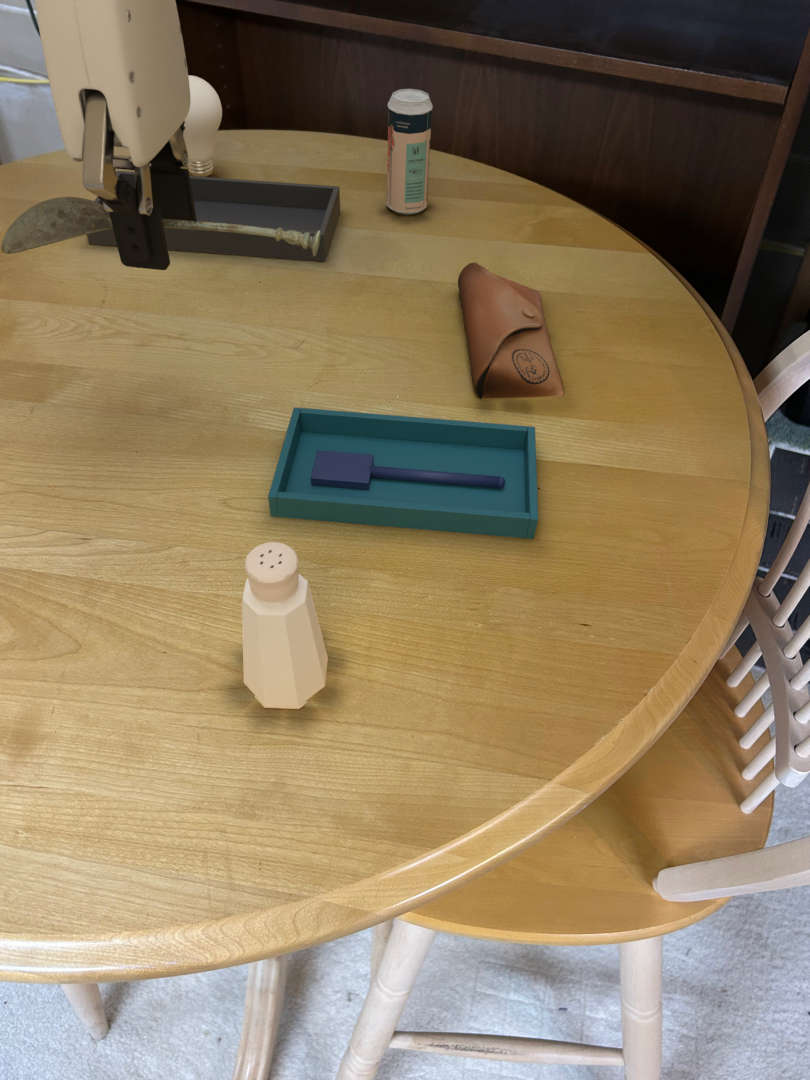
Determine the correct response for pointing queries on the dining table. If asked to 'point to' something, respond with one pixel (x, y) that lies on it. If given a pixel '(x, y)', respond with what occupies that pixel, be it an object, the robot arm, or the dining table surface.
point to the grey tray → (250, 217)
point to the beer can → (408, 150)
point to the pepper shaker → (280, 630)
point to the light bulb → (201, 126)
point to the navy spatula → (383, 473)
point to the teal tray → (417, 449)
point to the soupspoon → (110, 226)
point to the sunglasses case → (506, 337)
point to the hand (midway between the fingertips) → (160, 242)
